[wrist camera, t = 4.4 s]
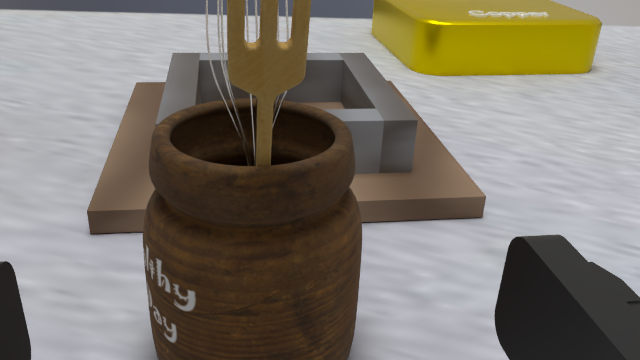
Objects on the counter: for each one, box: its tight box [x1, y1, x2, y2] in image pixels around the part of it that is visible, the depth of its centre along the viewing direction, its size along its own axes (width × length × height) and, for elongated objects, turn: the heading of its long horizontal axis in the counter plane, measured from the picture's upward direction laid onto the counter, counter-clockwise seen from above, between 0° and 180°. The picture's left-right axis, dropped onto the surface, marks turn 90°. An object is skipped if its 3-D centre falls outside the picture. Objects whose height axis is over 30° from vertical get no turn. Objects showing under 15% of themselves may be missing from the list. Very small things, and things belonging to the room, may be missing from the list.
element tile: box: [372, 0, 602, 76], centre depth 51 cm, size 15×15×5 cm
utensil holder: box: [143, 0, 362, 360], centre depth 16 cm, size 6×6×12 cm
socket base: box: [87, 53, 486, 234], centre depth 31 cm, size 16×16×4 cm
